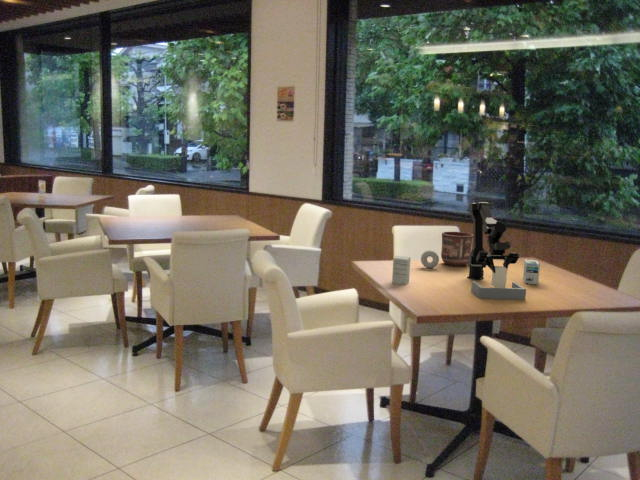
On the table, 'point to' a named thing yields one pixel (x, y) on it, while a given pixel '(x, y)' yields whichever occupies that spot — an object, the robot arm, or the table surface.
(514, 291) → the open-front crate
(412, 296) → the table surface
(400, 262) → the supplement box
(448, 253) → the pottery
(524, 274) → the light bulb box
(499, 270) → the cream block
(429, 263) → the grey ring
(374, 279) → the table surface
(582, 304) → the table surface
